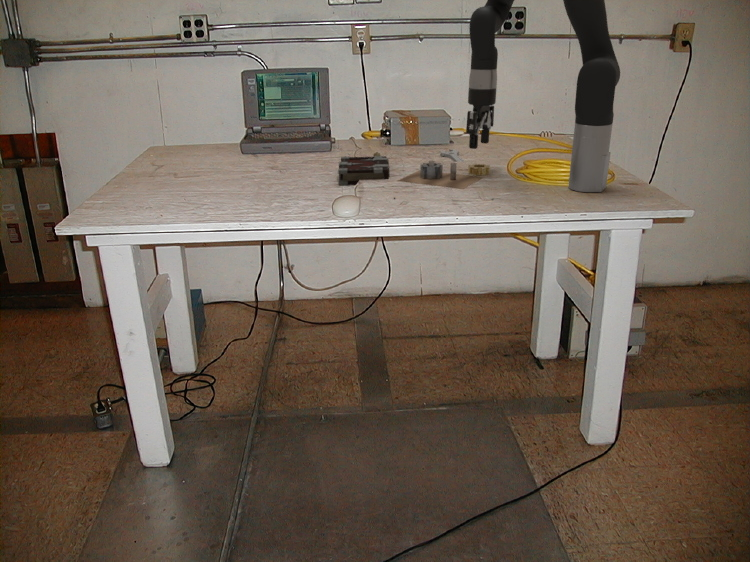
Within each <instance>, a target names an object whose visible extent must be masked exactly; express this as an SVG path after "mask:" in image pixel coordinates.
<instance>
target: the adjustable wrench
mask: <svg viewBox="0 0 750 562" xmlns="http://www.w3.org/2000/svg"><path fill="white" fill-rule="evenodd" d="M459 153H460V151H459V150H458V149H454V148H453V149H452V148H450V149H449V151H447V150H444V149H443V150H440V157H441V158H448V159H451V161H453V163H456V162H457V163H459V162H461V163H465V162H466V160H465V159H463V158H462V157H460V156H459Z"/></svg>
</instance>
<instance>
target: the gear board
mask: <svg viewBox="0 0 750 562" xmlns="http://www.w3.org/2000/svg"><path fill="white" fill-rule="evenodd" d="M428 163H429V166H434V163H435V160H429V161H428ZM449 172H450V173H449ZM449 172H443V174H442V177H440V179H432V180H429V179H422V177H420V169H419V170H417V171H415V172H412V173H411V174H409V175H406V176H404V177H402V178H400V179H398V180H397V182H403V183H411V184H419V185H429V186H434V187H435V186H436V187H444V188H451V189H458V190H465V189H467V188H468V187H470V186H472V185H474V184H475V183H476V182H478V181H480V180H482V179H483V178H484V176H478V175H477V176H474V175H469V174H468V175H466V174H460V173H459V174H458V173H457V163H456V162H451V163H450V171H449Z"/></svg>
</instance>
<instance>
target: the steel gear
mask: <svg viewBox="0 0 750 562" xmlns="http://www.w3.org/2000/svg"><path fill="white" fill-rule="evenodd" d="M419 165H420V167H419V170H420V177H422V179H429V180H432V179H440V177H442V174H443V173H444V171H443V166H444V164H443V163H441V162H434V166H429V162H422V163H421V164H419Z"/></svg>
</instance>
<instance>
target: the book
mask: <svg viewBox="0 0 750 562" xmlns="http://www.w3.org/2000/svg"><path fill="white" fill-rule="evenodd" d="M389 162H390V159H389V158H388V157H387V155H385V156H384V155H381V153H380V152H378V151H376V152H375V153H373V156H341V157H340V161H339V162H338V169H337V170H338V171H337V173H338V186H349V185H357V184H358V183H359V181H360V180H370V179H383V180H389V178H390V177H391V176H390V165H389V164H390V163H389Z"/></svg>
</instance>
